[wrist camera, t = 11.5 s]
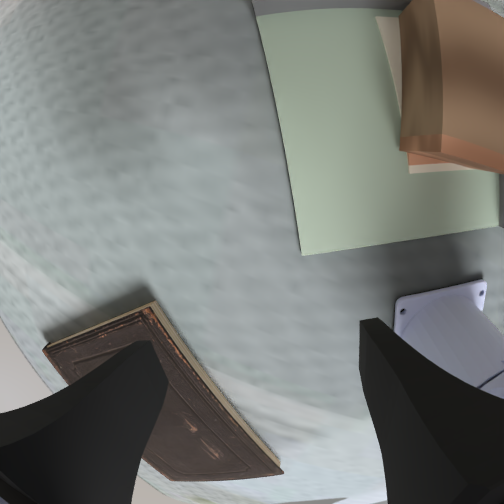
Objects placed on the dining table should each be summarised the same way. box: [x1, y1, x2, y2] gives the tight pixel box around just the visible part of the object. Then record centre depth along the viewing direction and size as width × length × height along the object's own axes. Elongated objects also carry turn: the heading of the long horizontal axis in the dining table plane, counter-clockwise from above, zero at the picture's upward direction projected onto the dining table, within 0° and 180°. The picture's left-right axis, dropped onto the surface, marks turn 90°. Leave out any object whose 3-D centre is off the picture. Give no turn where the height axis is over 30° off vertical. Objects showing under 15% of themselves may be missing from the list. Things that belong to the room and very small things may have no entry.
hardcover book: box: [42, 301, 284, 481], centre depth 24 cm, size 16×23×2 cm
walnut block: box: [398, 0, 504, 174], centre depth 10 cm, size 9×5×5 cm, turn 177°
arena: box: [252, 0, 504, 256], centre depth 13 cm, size 16×16×2 cm
